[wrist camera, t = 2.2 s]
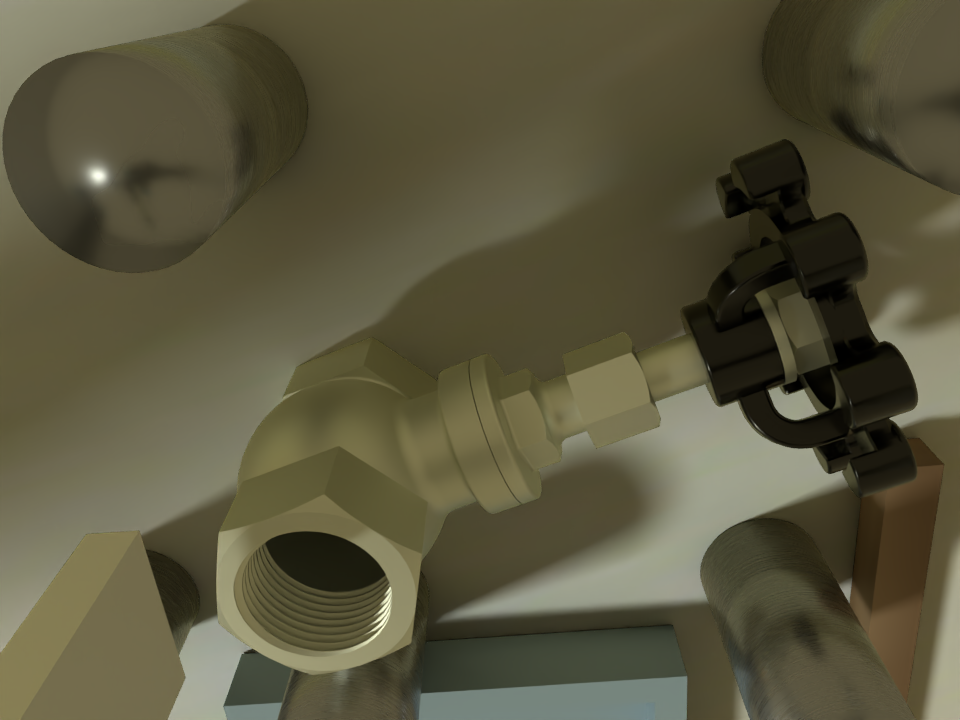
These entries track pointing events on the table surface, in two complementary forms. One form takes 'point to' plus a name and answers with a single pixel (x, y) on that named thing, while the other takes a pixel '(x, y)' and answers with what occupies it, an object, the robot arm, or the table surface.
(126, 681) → the robot arm
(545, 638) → the tray
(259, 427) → the valve
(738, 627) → the spacers
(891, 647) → the hook tool
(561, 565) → the table surface
